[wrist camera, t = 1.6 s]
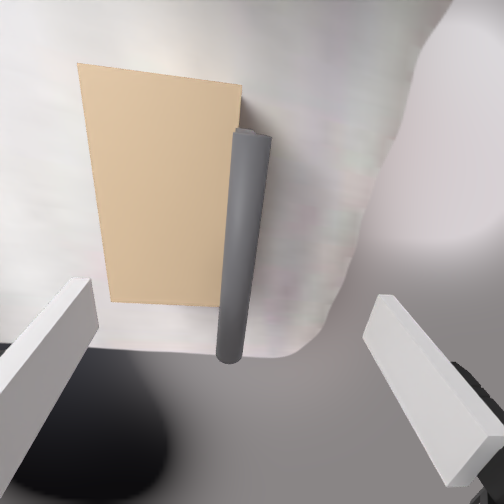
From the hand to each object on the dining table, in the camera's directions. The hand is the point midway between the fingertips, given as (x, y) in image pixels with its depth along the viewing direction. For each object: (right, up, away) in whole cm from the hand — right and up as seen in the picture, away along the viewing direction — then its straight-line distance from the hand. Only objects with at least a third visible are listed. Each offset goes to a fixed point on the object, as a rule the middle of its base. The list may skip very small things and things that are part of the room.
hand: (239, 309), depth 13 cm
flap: (-6, +6, +10) cm, 13 cm away
